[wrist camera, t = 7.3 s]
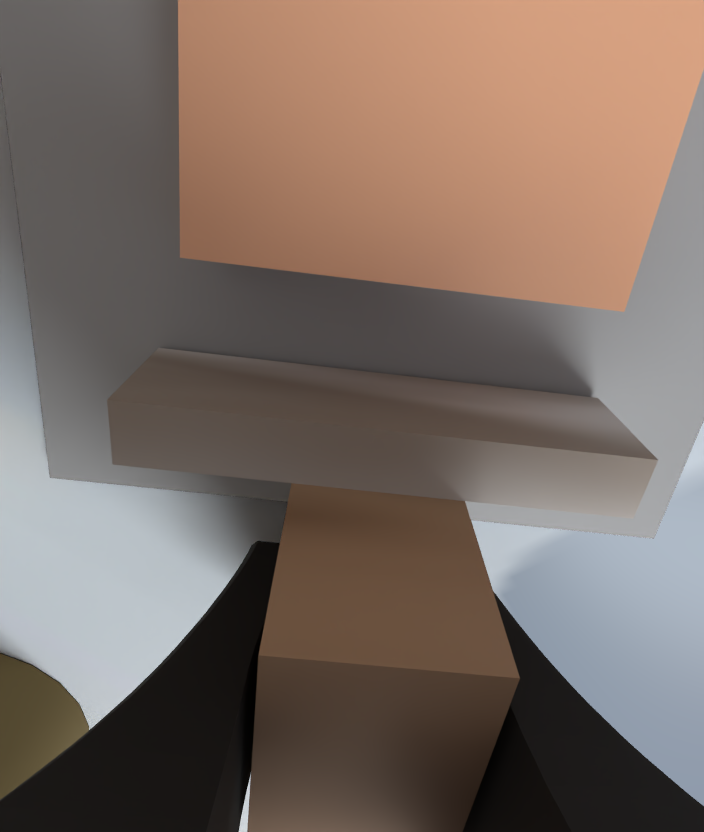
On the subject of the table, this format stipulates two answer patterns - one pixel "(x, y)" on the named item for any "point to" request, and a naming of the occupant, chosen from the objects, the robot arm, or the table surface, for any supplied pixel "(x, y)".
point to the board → (292, 275)
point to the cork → (33, 721)
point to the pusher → (376, 564)
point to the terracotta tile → (435, 139)
